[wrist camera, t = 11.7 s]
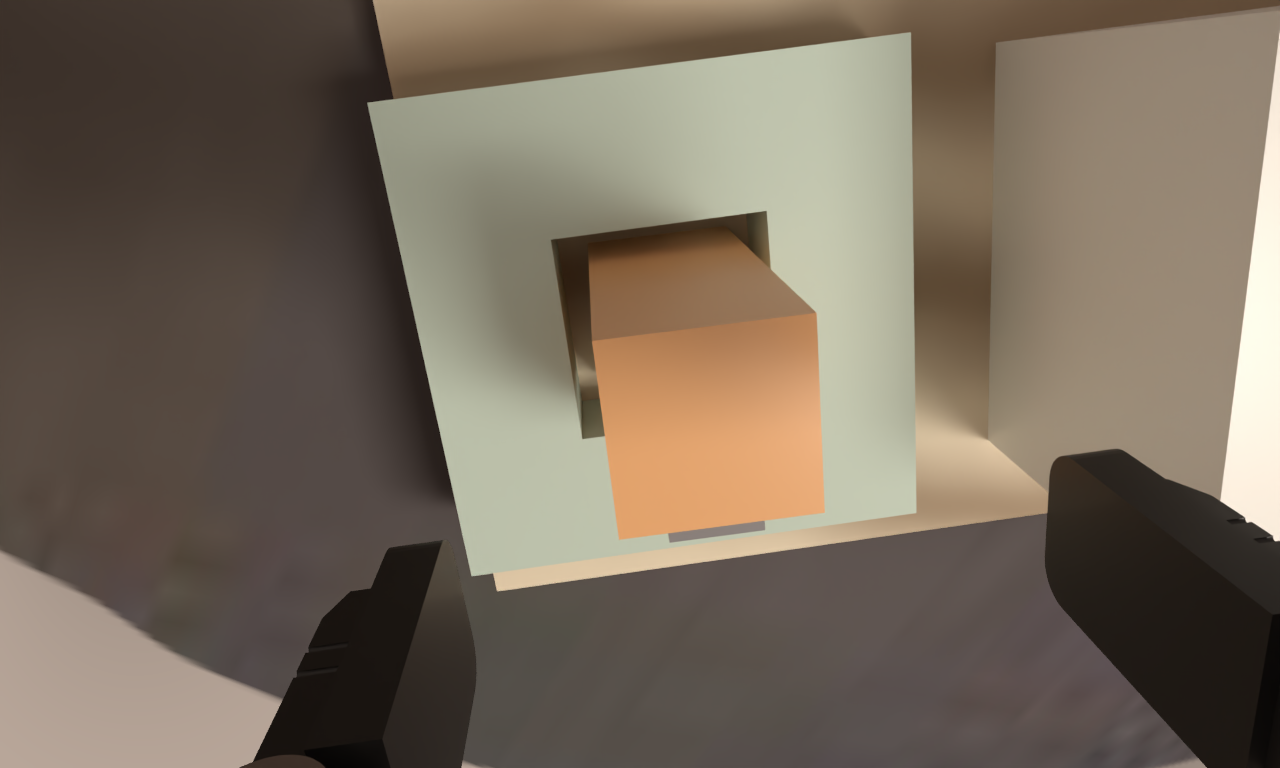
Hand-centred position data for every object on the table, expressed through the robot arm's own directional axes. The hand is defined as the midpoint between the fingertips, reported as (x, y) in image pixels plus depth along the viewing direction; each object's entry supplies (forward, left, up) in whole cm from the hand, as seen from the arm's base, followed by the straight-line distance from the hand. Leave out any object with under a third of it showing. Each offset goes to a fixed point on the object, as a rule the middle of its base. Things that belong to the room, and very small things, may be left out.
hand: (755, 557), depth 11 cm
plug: (0, 0, -15) cm, 15 cm away
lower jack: (0, 0, -15) cm, 15 cm away
